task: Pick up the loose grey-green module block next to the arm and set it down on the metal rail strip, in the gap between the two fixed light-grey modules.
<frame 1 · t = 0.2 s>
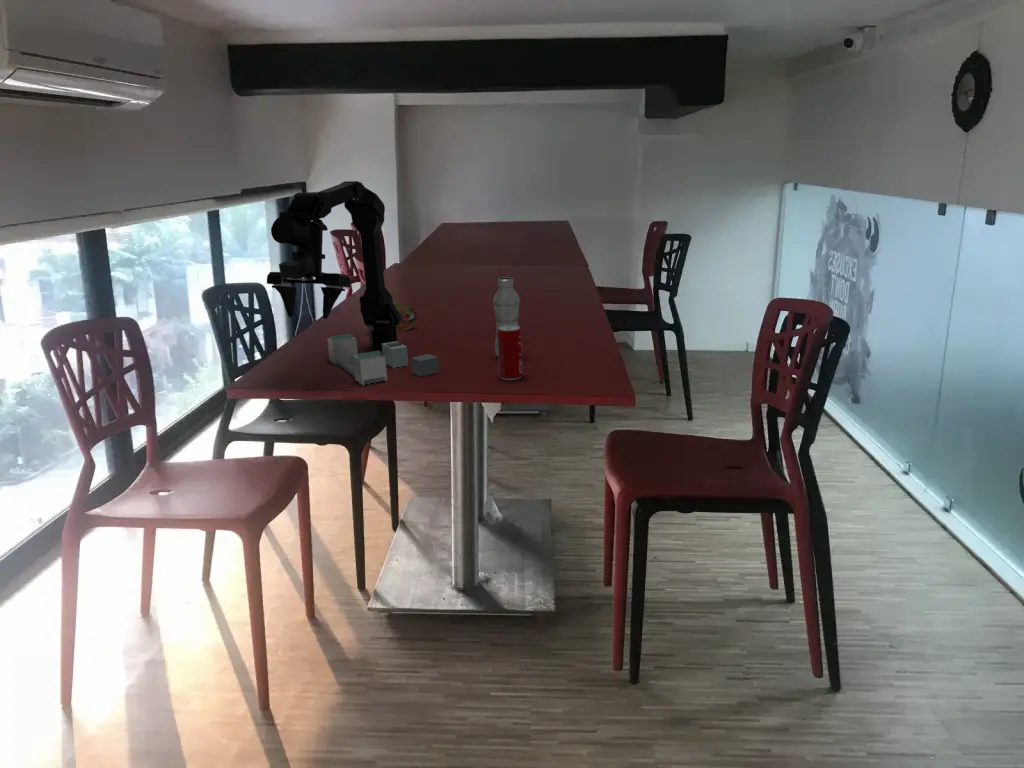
hand: (307, 317, 177), 15 cm above the table, tool pointing down, fingers open, 9 cm apart
rail: (357, 370, 190), on the table
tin: (391, 332, 229), on the table
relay: (425, 373, 186), on the table
plastic bottle: (508, 357, 197), on the table
module: (395, 364, 194), on the table
soda can: (511, 378, 180), on the table
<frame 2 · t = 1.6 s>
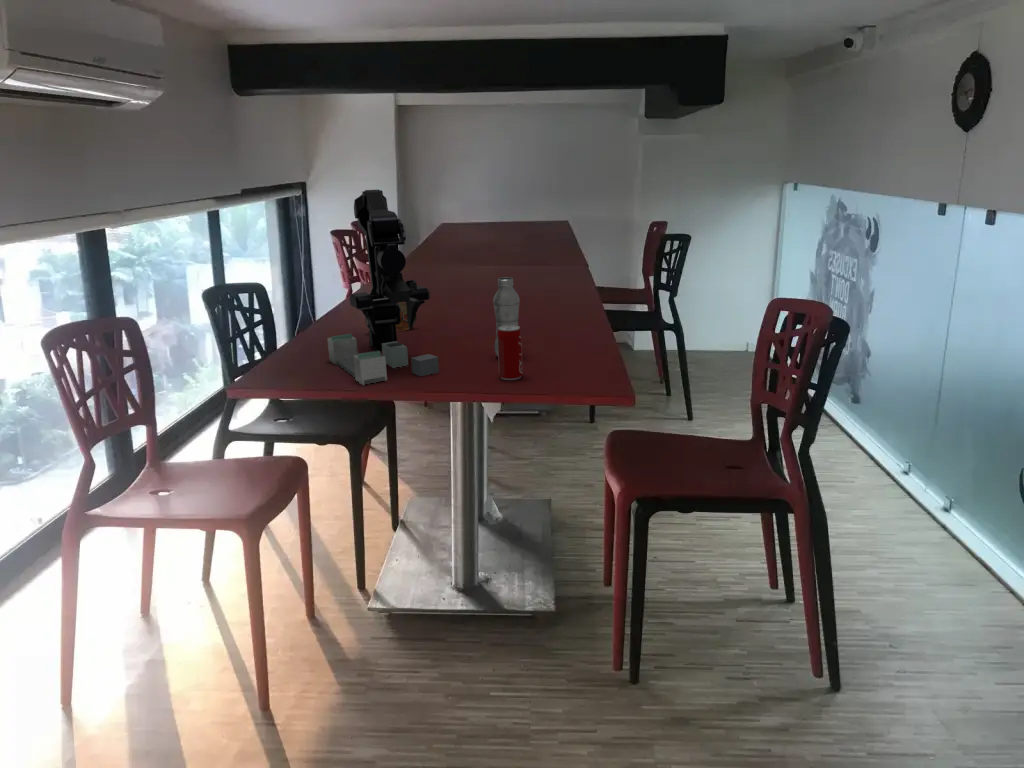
hand: (392, 331, 192), 8 cm above the table, tool pointing down, fingers open, 9 cm apart
nothing on the table moved.
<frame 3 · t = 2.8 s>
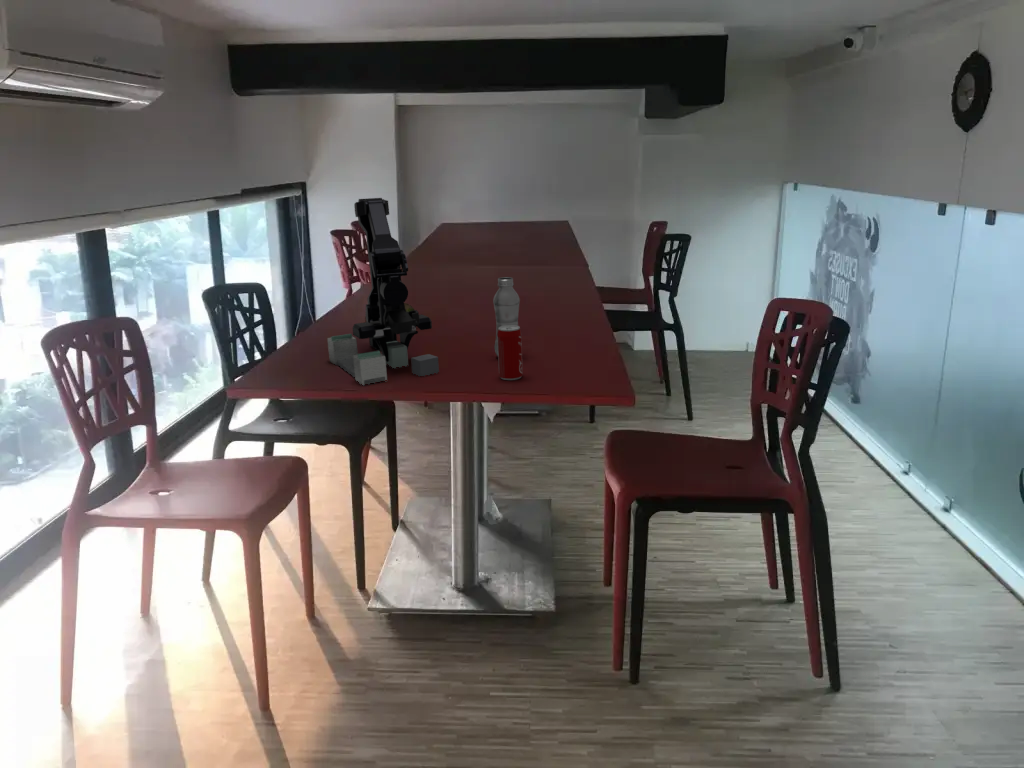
hand: (395, 360, 194), 1 cm above the table, tool pointing down, fingers closed on module, 4 cm apart
module: (395, 364, 194), on the table, touching gripper
everything else where it was.
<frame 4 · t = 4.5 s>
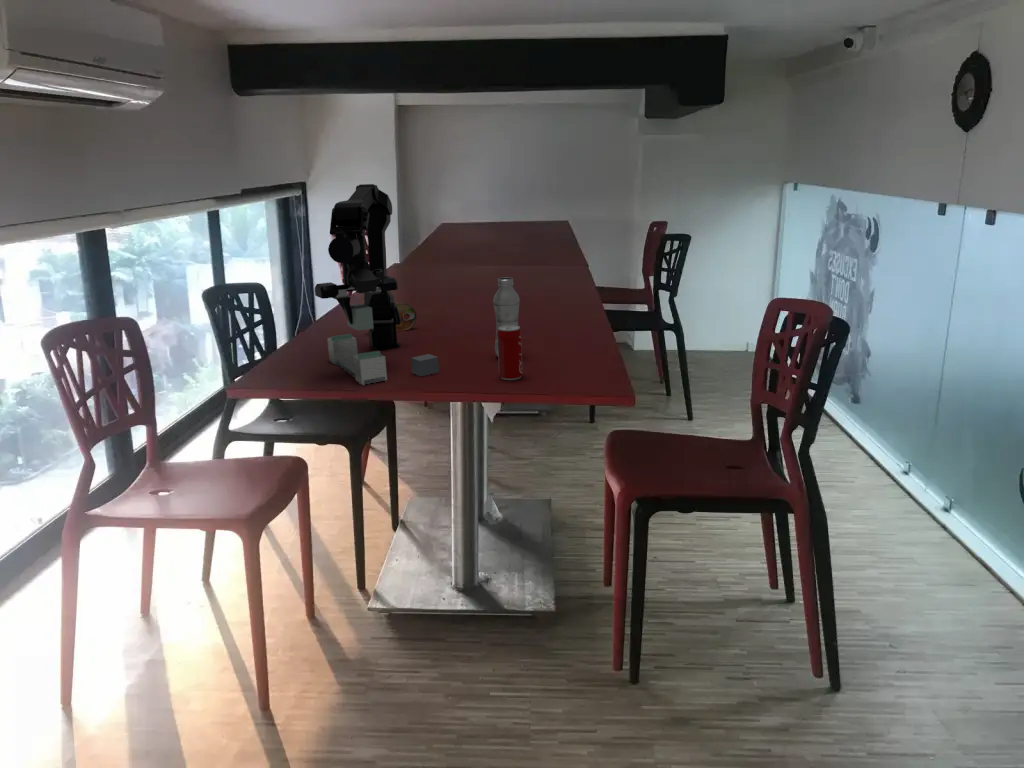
hand: (359, 322, 187), 12 cm above the table, tool pointing down, fingers closed on module, 4 cm apart
module: (360, 327, 187), point 11 cm above the table, touching gripper
everything else where it was.
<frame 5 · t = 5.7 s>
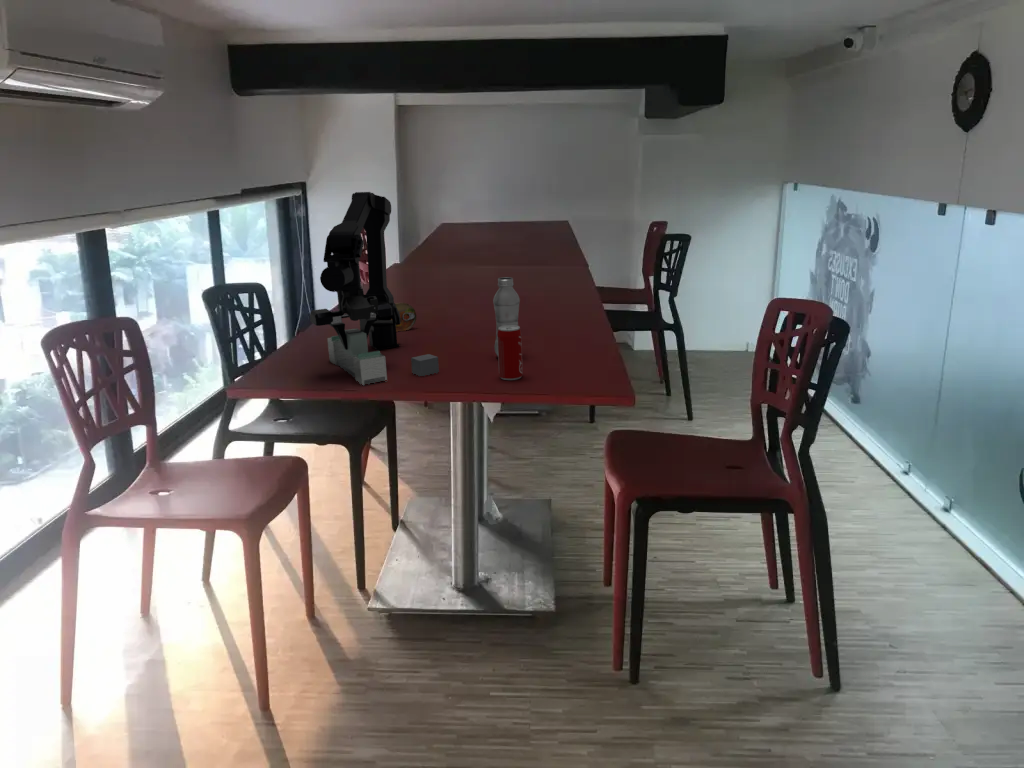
hand: (355, 348, 188), 6 cm above the table, tool pointing down, fingers closed on module, 4 cm apart
module: (355, 352, 188), point 5 cm above the table, touching gripper
everything else where it was.
when the fingers open (3 cm above the table, at t = 6.4 s): module drops 1 cm, resting on rail.
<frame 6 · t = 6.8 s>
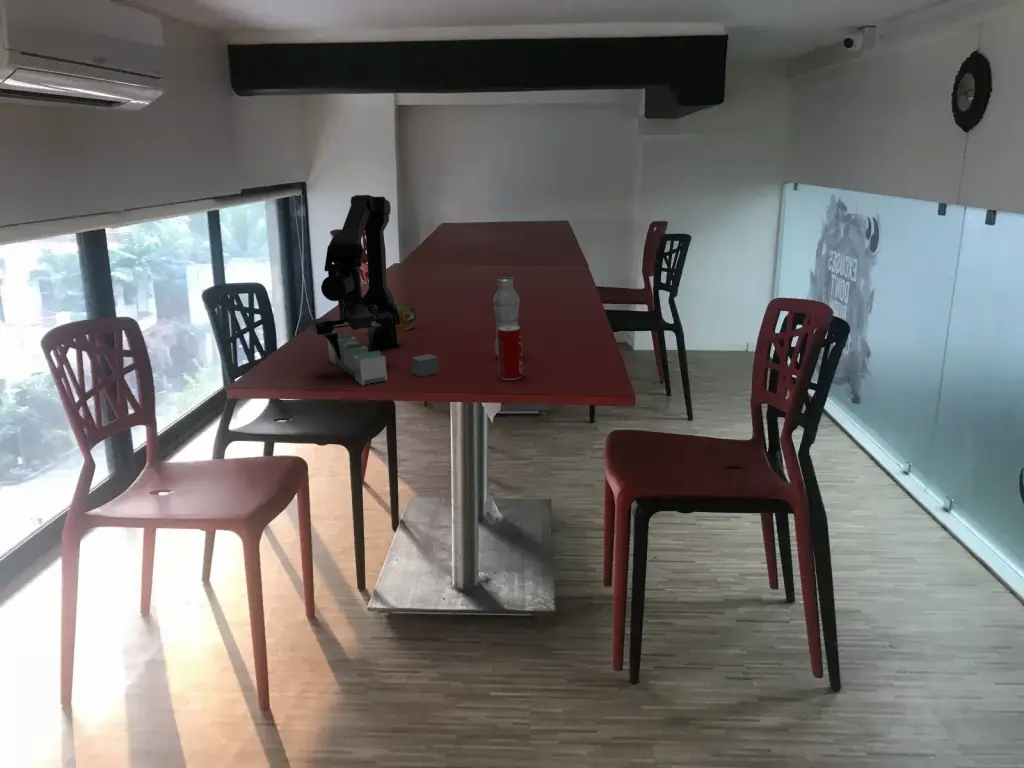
hand: (355, 356, 189), 3 cm above the table, tool pointing down, fingers open, 8 cm apart
module: (356, 365, 189), point 1 cm above the table, touching rail
everything else where it was.
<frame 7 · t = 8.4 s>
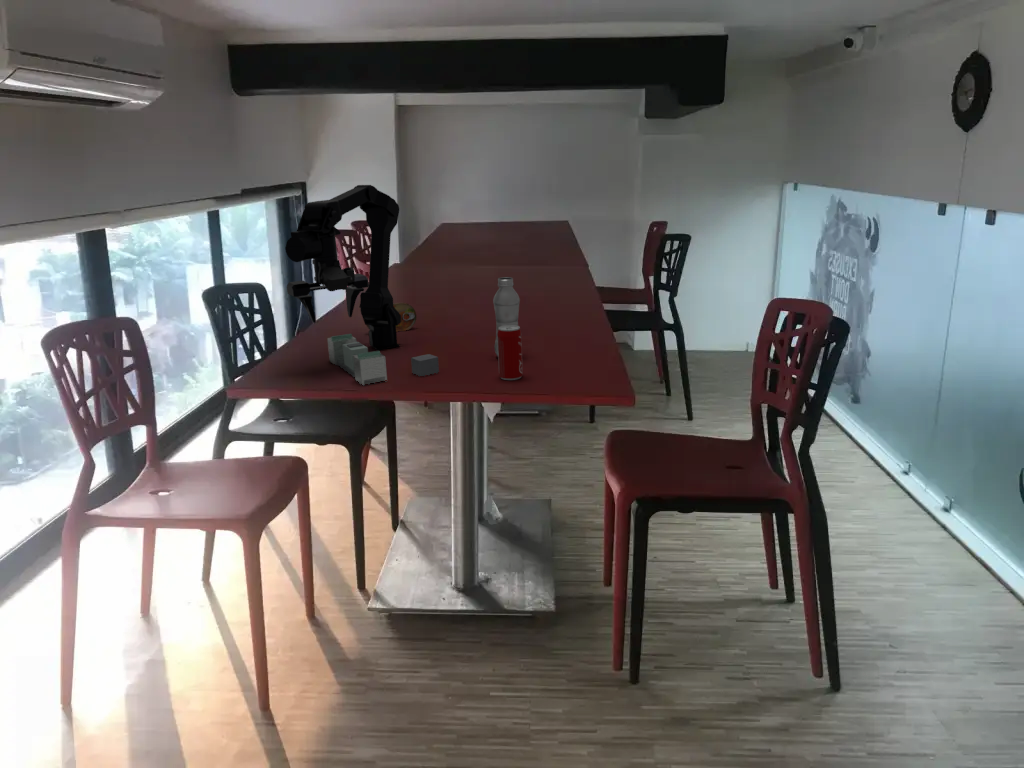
hand: (332, 319, 191), 12 cm above the table, tool pointing down, fingers open, 9 cm apart
nothing on the table moved.
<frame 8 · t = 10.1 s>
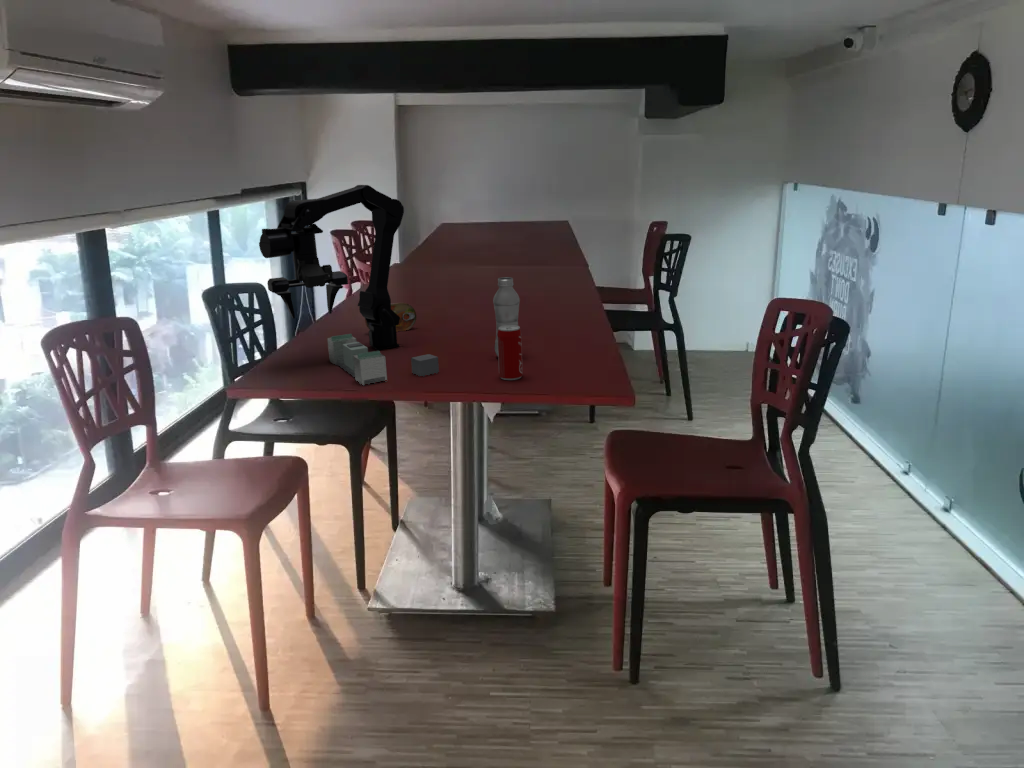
hand: (312, 315, 195), 12 cm above the table, tool pointing down, fingers open, 9 cm apart
nothing on the table moved.
at the end: module inside the target area on the rail (0.0 cm from its centre), point 1.2 cm above the rail's base; module tilted 0°; the gripper is holding nothing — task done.
